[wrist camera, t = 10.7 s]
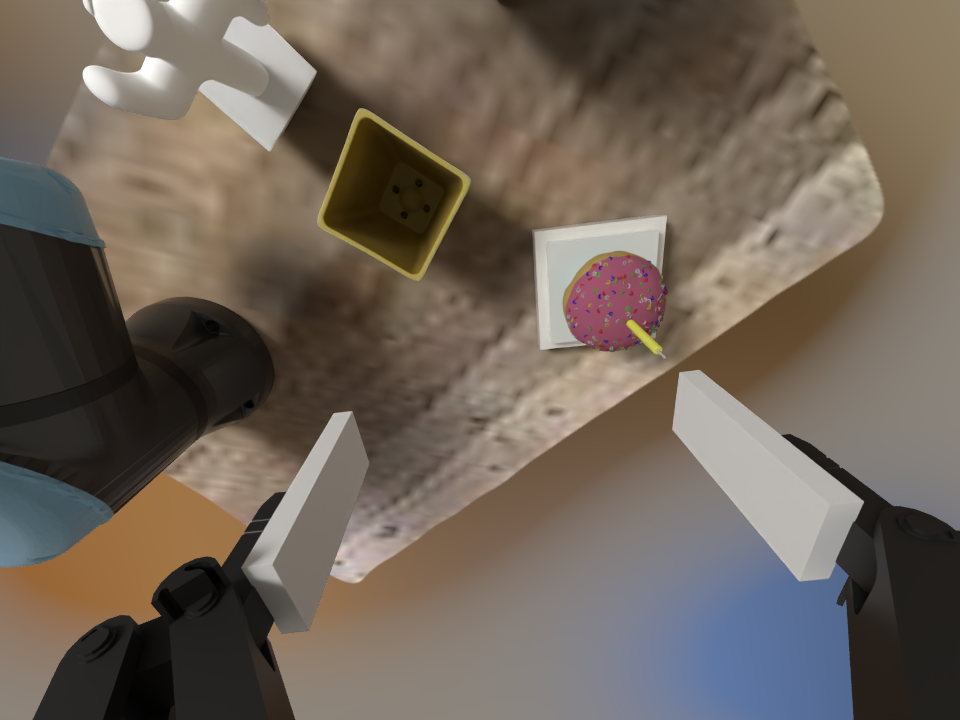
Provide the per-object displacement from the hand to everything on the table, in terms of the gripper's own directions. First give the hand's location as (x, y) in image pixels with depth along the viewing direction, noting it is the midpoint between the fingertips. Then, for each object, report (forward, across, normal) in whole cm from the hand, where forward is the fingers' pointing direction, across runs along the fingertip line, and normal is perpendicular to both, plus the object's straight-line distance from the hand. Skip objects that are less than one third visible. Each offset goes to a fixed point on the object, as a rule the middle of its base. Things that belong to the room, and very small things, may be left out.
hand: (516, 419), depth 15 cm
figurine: (+26, -16, +18) cm, 36 cm away
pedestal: (+25, +11, -2) cm, 27 cm away
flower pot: (+26, -6, +8) cm, 28 cm away
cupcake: (+22, +10, -2) cm, 24 cm away
